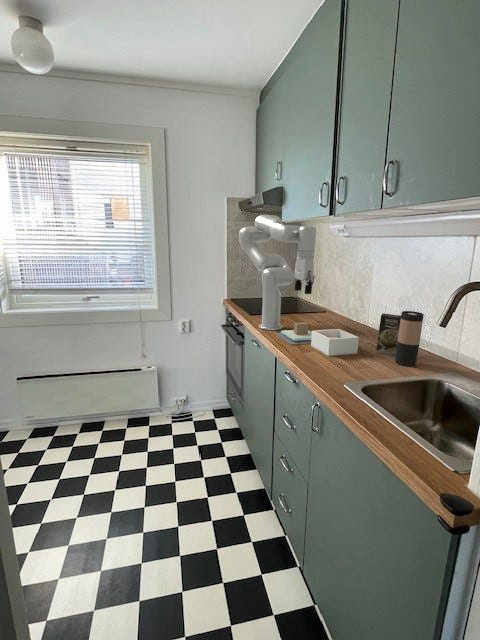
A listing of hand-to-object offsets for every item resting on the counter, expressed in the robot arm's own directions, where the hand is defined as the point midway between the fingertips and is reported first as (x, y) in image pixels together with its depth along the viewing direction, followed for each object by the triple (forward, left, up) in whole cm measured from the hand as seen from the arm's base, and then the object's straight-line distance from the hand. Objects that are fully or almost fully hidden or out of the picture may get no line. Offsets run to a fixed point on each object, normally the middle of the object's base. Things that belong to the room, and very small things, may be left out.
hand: (302, 292), depth 159 cm
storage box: (+19, +6, -22) cm, 30 cm away
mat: (0, 0, -22) cm, 22 cm away
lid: (0, 0, -21) cm, 21 cm away
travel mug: (+41, +24, -22) cm, 53 cm away
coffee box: (+28, +27, -22) cm, 45 cm away
